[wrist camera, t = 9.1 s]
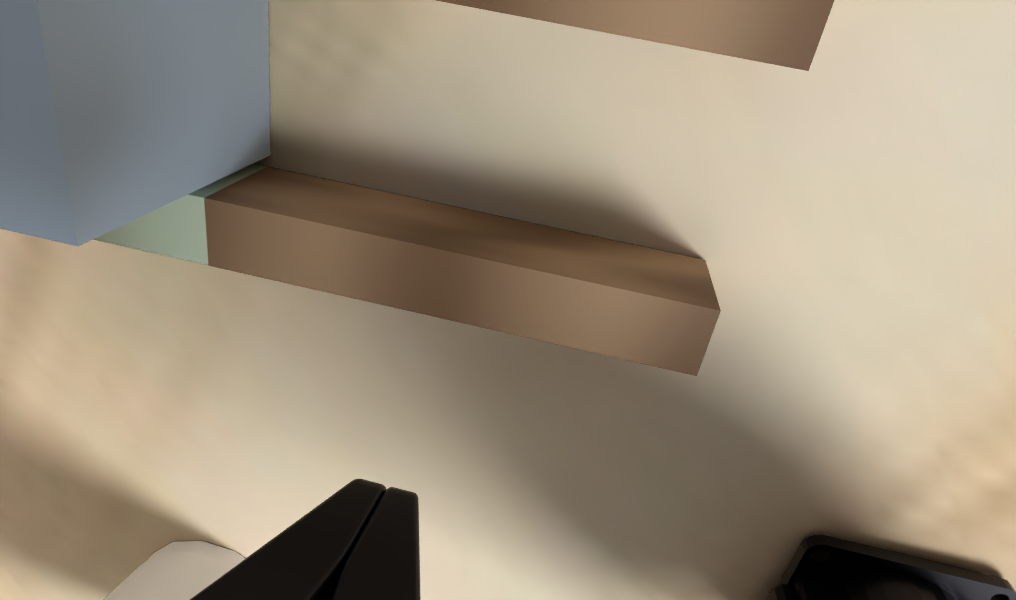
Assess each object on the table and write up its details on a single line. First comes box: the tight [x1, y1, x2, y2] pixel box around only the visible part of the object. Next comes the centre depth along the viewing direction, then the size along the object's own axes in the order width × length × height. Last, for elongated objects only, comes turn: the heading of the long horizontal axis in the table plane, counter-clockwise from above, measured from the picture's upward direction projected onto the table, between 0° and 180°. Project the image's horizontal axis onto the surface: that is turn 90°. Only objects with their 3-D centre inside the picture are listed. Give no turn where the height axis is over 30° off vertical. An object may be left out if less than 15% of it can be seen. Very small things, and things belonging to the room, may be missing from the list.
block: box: [0, 0, 270, 246], centre depth 14 cm, size 5×4×7 cm
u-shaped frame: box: [94, 0, 834, 376], centre depth 15 cm, size 19×9×4 cm, turn 80°
